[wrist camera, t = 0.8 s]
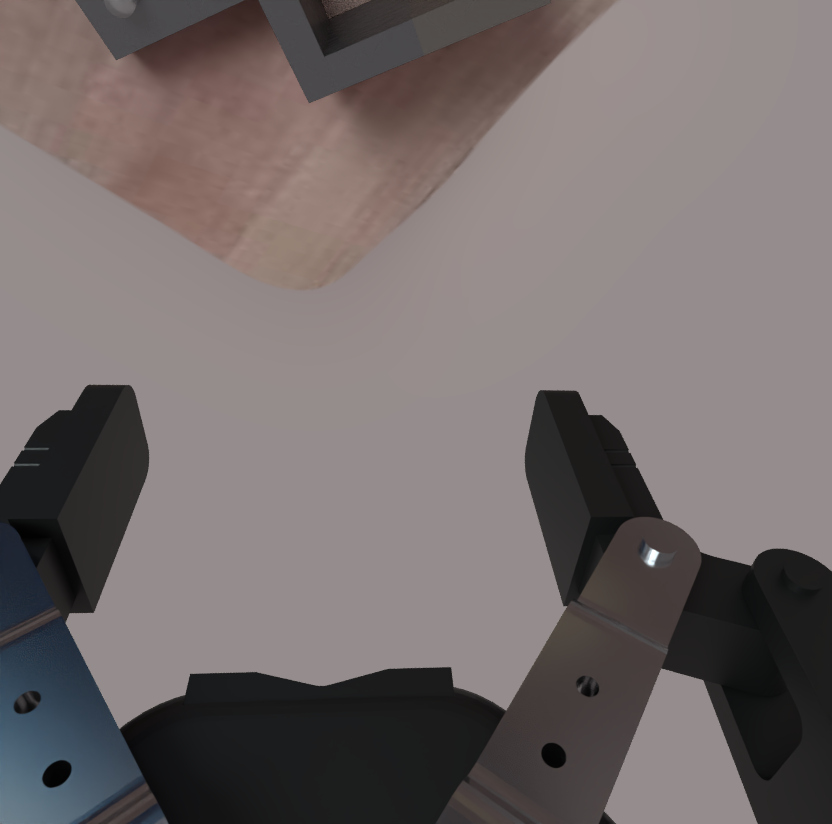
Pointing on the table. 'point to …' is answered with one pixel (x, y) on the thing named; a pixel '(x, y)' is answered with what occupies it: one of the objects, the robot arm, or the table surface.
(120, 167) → the table surface
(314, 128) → the table surface
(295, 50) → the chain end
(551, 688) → the robot arm
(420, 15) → the bracket
